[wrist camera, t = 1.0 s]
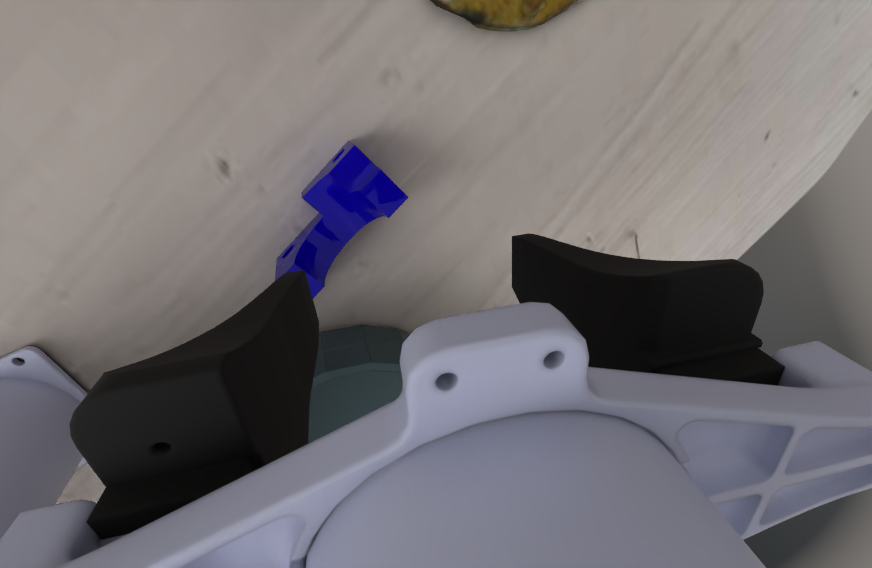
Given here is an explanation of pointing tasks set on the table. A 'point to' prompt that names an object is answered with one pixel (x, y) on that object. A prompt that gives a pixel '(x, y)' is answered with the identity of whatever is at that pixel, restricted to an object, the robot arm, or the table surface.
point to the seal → (505, 12)
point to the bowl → (354, 376)
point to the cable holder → (338, 213)
